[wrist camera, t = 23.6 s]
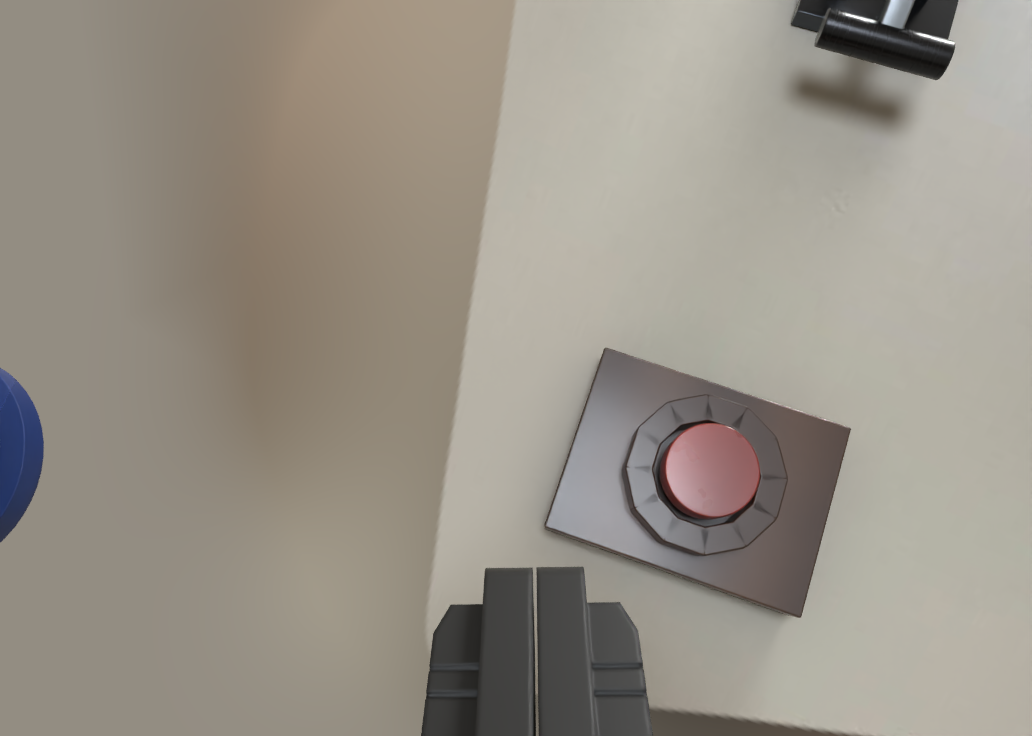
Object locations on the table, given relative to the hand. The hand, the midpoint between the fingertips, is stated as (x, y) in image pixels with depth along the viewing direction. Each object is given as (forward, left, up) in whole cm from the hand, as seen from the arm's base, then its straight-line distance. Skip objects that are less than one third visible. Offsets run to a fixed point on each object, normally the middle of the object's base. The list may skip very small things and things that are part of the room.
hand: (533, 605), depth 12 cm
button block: (+5, +7, -27) cm, 28 cm away
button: (+5, +7, -23) cm, 25 cm away
